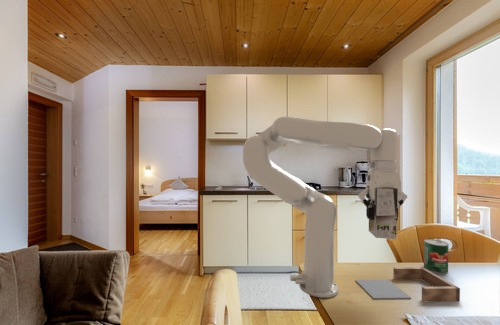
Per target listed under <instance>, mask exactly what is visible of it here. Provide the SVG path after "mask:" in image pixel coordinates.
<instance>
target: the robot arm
mask: <svg viewBox="0 0 500 325" xmlns="http://www.w3.org/2000/svg"><path fill="white" fill-rule="evenodd" d="M397 134H398V133H397V131H396V130H395V129H393V128H392V129H391V128H380V129H379V128H378V127H376V126H374V125H370V124H364V123H356V122H355V123H354V122H345V121H344V122H342V121H341V122H340V121H325V120H323V121H322V120H314V119H308V118H307V119H305V118H300V117H290V116H281V117H277V119H275V120H274V121H273V123H272V124H271V125H270V126H269V127H267V128H266V129H265V130H263V131H262V132H261V133H259V134H258V135H254V136H250V137H248V138H247V139H246V140H245V142H244V145H243V148H242V163H243V165H244V169H245V171H246V172H247V174H248V175H249V176H250V178H251V179H253V181H255V183H257V184H259V185H260V186H261V187H263V188H264V189H266V190H267V191H269V192H271V193H272V194H273V195H275V196H276V197H277V198H279V199H280V200H281V201H283V202H284V203H285V204H289V205H291V206H292V207H293V208H296V209H297V210H299V211H300V212H302V213H303V214H305V224H304V250H303V251H304V255H303V257H304V262H303V263H304V264H303V265H304V268H303V270H301V273H298V274H297V275H296V274H290V275H289V280H290V282H294V283H295V285H299V288H300V290H301V291H302V292H303V293H305V294H306V295H309V296H311V297H316V298H321V299H323V298H324V299H325V298H327V299H328V298H333V297H335V296H337V295H338V293H339V286H338V284H337V283H336V282H334V275H335V274H334V273H335V271H334V269H335V268H334V267H335V262H334V261H335V228H336V220H337V207H336V204H335V201H334V200H333V199H332V198H331V197H330V196H328V195H327V194H324V193H322V192H319V191H318V190H316V189H315V188H313V187H311V186H310V185H308V184H306V183H305V182H304V181H302V179H300V178H299V177H297V176H294V175H293V174H290V173H289V172H287V171H286V170H284V169H283V168H282V167H280V166H278V165H277V164H275V163H274V162H273V161H272V159H271V158H270V157H269V156H270V155H271V154H272V153H274V152H276V151H277V150H278V149H280V148H281V147H282V146H283V145H285V144H286V143H289V144H297V145H304V146H311V147H321V148H324V147H326V148H327V147H347V148H348V149H349V150H351V151H354V152H363V151H370V162H367V164H366V166H367V167H368V168H370V169H369V170H368V171H367V172H368V173H367V177H366V184H365V189H364V190H362V191H361V192H360V193H359V194H357V197H358V198H359V200H360V201H361V203H362V204H364V206H365V207H366V210H365V212H366V218H367V220H369V219H370V220H374V208H373V205H374V200H375V201H376V188H397V189H398V198H397V221H398V220H399V209H401V206H402V205H403V204H404V203H405V202H406V200H407V199H408V195H407V194H405V193H404V192H403V191H402V182H401V180H402V179H401V174H400V171H399V170H397V152H398V151H397V147H398V146H397V142H398V140H397V139H398V135H397Z"/></svg>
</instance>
